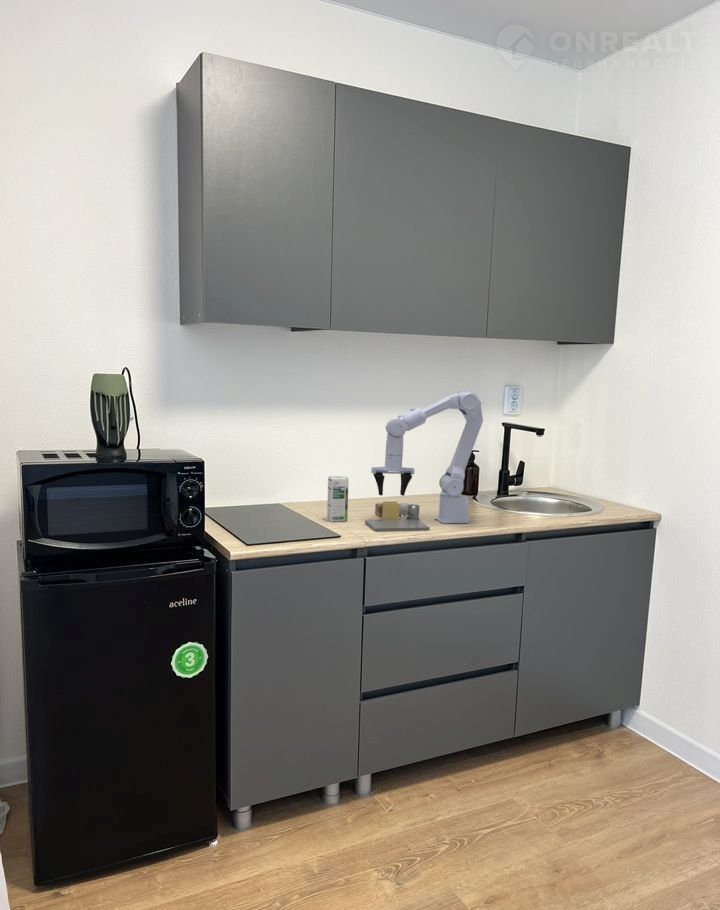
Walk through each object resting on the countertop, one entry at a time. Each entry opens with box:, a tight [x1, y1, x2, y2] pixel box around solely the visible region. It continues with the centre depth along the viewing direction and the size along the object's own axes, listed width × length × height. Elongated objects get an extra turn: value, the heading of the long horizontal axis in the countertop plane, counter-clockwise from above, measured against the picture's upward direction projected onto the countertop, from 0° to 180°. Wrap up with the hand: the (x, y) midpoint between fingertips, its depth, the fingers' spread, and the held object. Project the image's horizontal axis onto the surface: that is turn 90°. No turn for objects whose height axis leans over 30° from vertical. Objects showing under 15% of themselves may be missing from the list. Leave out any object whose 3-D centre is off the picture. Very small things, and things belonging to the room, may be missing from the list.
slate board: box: [364, 519, 431, 533], centre depth 225 cm, size 18×12×1 cm, turn 105°
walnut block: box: [374, 502, 383, 518], centre depth 242 cm, size 5×5×4 cm
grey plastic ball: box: [398, 502, 410, 516], centre depth 244 cm, size 4×4×4 cm
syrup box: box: [326, 475, 350, 522], centre depth 232 cm, size 6×6×14 cm
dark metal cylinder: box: [406, 503, 420, 521], centre depth 237 cm, size 4×4×5 cm
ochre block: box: [381, 501, 400, 520], centre depth 235 cm, size 4×4×6 cm
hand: (391, 495), depth 234 cm, fingers open, 7 cm apart
